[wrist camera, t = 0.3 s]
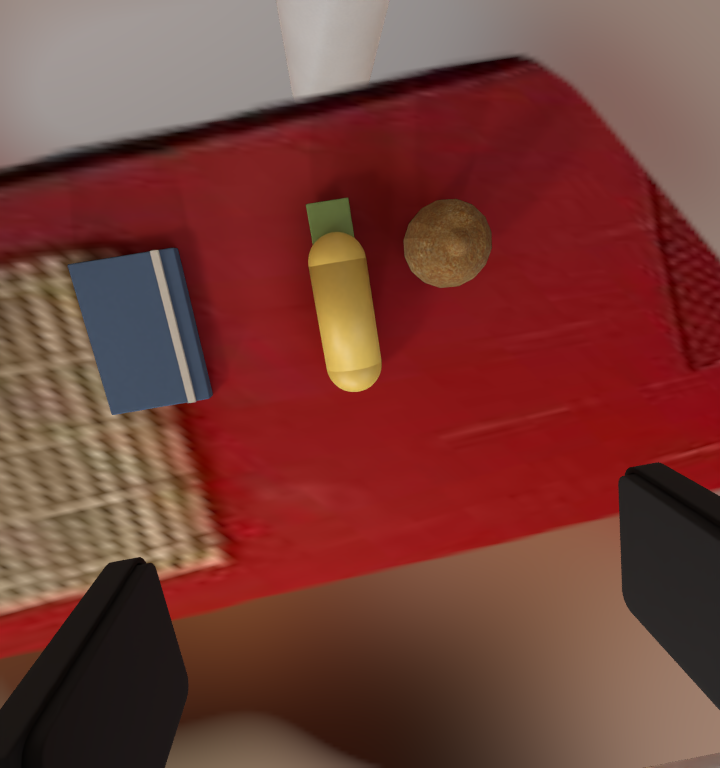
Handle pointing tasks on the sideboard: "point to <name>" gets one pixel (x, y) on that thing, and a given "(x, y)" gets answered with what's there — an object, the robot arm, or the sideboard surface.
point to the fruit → (447, 243)
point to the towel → (142, 330)
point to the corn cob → (343, 297)
